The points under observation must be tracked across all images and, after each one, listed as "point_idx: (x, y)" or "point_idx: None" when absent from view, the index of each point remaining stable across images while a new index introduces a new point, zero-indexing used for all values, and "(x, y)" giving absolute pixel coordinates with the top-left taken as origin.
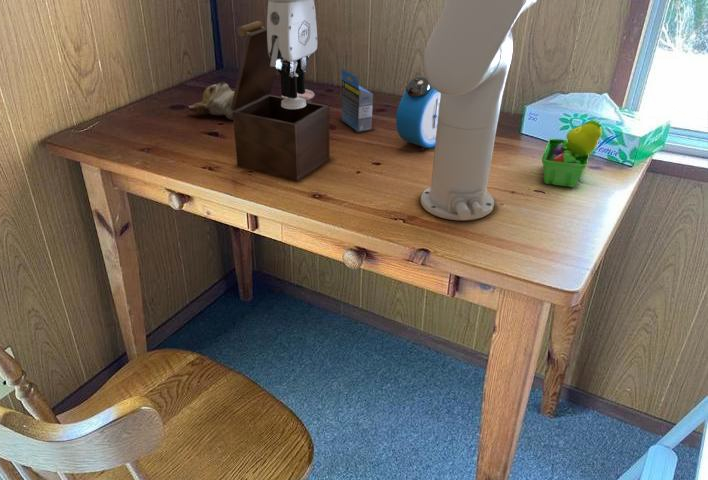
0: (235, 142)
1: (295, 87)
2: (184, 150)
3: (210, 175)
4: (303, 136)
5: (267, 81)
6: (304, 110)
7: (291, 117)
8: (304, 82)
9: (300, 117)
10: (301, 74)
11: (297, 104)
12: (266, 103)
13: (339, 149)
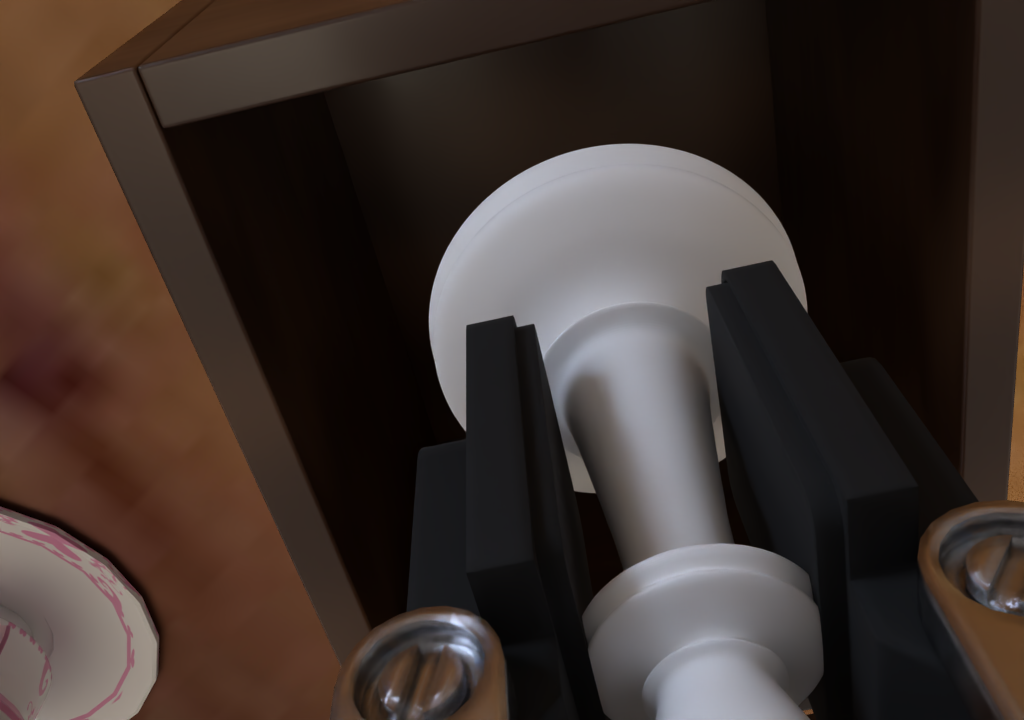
0: None
1: (826, 346)
2: (811, 709)
3: (1018, 385)
4: None
5: None
6: (295, 357)
7: (362, 440)
8: (484, 423)
9: (326, 358)
10: (562, 560)
11: (715, 196)
12: None
13: (35, 48)
